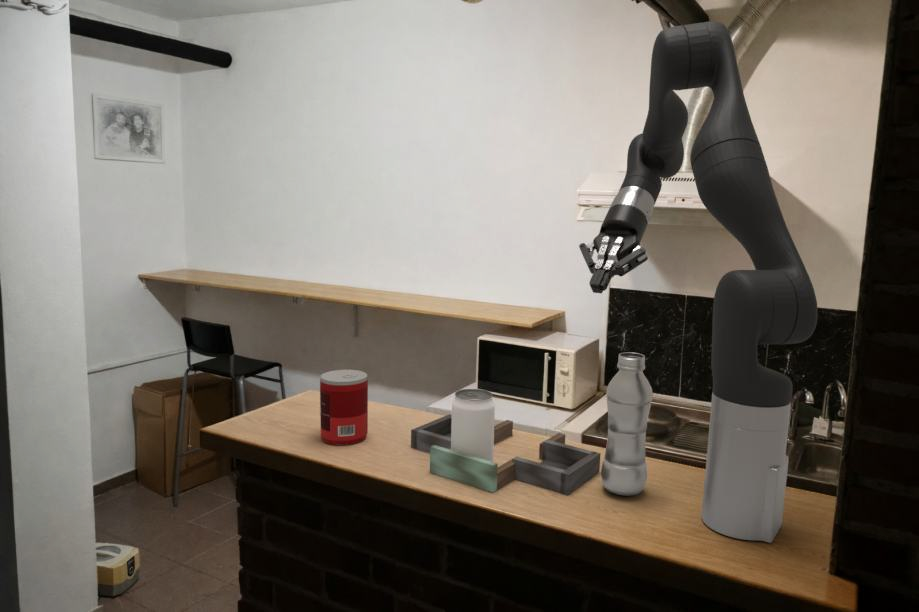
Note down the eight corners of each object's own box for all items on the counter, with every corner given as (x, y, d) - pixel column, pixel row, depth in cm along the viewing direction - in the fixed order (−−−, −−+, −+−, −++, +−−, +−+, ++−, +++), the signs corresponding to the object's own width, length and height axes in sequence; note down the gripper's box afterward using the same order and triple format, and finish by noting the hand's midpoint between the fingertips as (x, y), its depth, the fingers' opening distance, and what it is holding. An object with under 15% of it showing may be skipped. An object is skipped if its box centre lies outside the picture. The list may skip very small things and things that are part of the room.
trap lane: (613, 461, 111) (615, 437, 110) (547, 510, 94) (548, 481, 93) (466, 422, 128) (466, 401, 127) (386, 458, 110) (386, 433, 110)
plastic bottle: (595, 496, 98) (604, 358, 95) (604, 478, 104) (612, 348, 101) (642, 504, 96) (652, 363, 92) (648, 486, 102) (658, 352, 99)
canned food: (376, 435, 120) (377, 373, 118) (345, 449, 113) (345, 384, 112) (343, 426, 124) (342, 366, 122) (311, 439, 117) (310, 376, 116)
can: (466, 481, 102) (468, 402, 100) (442, 467, 107) (443, 391, 105) (501, 472, 106) (504, 396, 104) (476, 458, 111) (478, 385, 109)
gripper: (589, 201, 129) (554, 272, 121) (659, 203, 121) (627, 279, 113) (599, 229, 134) (567, 299, 126) (667, 233, 126) (637, 307, 118)
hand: (596, 290), depth 120 cm, fingers closed
